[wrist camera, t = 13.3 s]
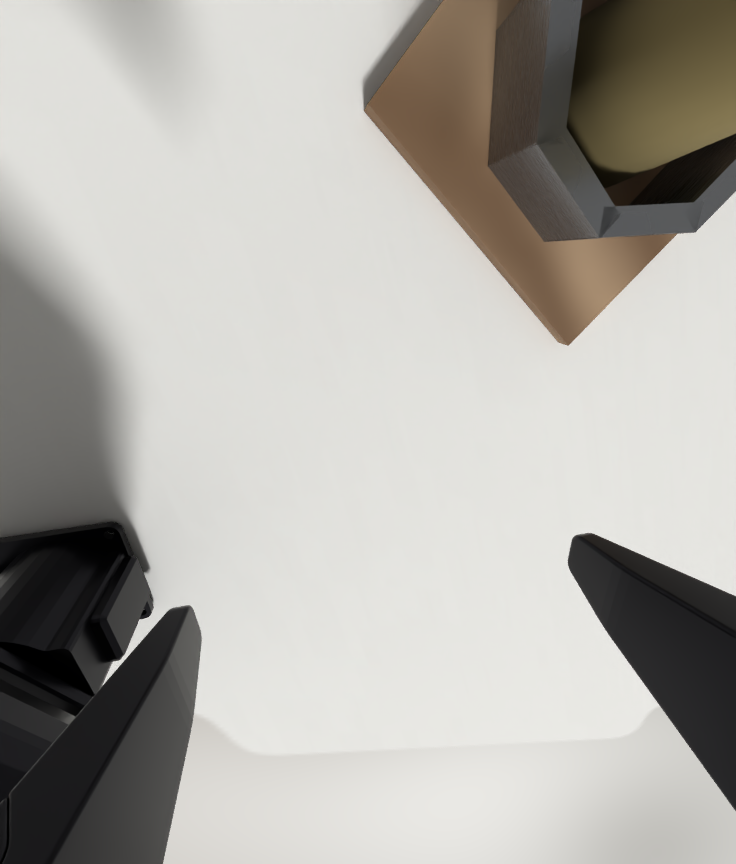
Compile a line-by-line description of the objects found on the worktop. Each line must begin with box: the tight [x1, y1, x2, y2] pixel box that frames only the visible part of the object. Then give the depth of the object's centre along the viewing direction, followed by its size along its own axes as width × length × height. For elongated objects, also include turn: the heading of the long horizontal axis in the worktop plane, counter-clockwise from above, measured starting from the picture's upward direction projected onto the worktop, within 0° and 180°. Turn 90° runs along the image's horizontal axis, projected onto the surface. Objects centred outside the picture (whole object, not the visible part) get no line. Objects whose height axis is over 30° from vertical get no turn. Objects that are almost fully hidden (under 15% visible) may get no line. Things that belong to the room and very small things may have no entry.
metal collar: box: [488, 0, 736, 242], centre depth 14 cm, size 10×10×4 cm
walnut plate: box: [364, 0, 677, 345], centre depth 16 cm, size 14×14×1 cm
